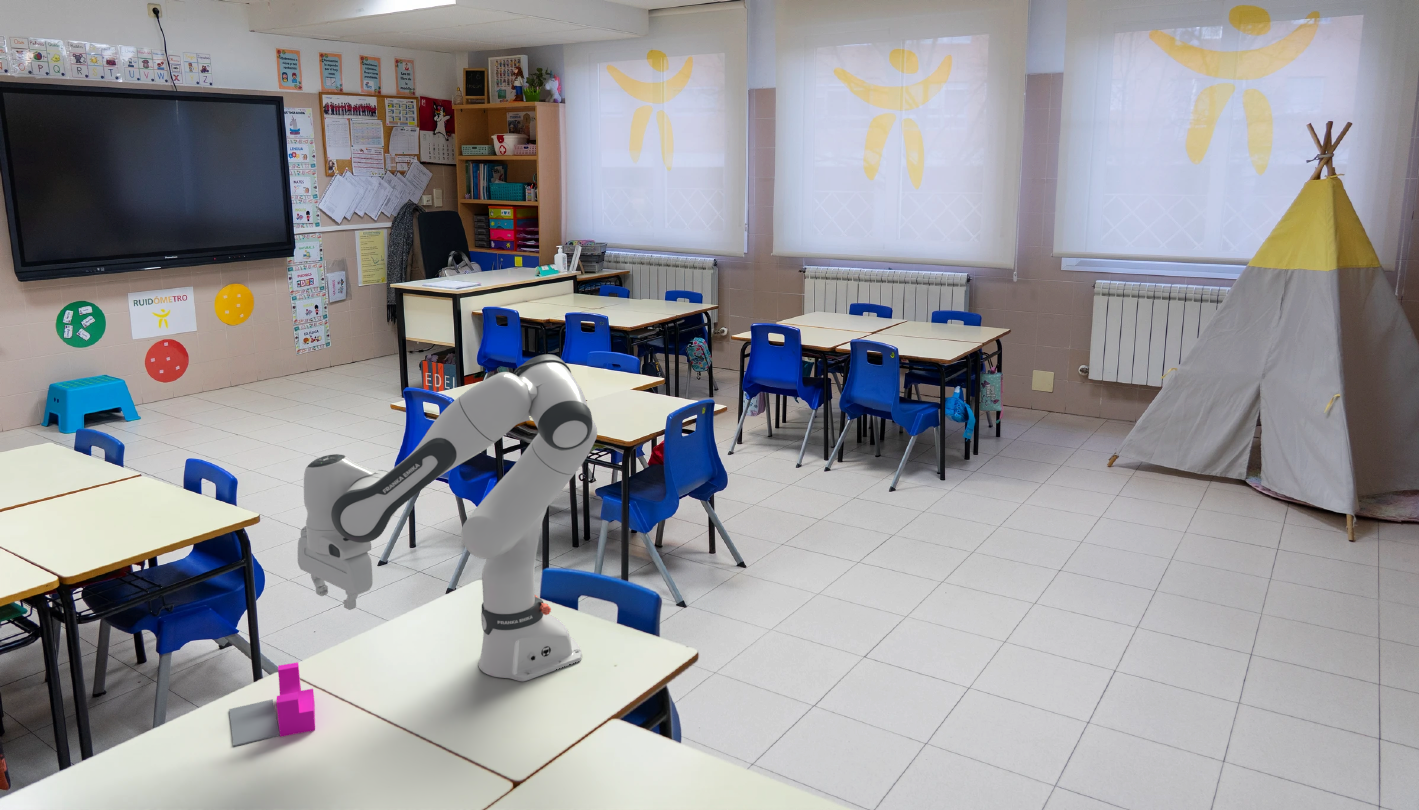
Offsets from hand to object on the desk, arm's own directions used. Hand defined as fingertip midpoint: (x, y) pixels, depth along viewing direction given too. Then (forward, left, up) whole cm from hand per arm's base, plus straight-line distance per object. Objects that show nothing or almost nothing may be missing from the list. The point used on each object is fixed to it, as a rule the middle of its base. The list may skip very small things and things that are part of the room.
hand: (336, 601), depth 193 cm
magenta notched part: (+9, 0, -23) cm, 24 cm away
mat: (+17, 0, -22) cm, 28 cm away
